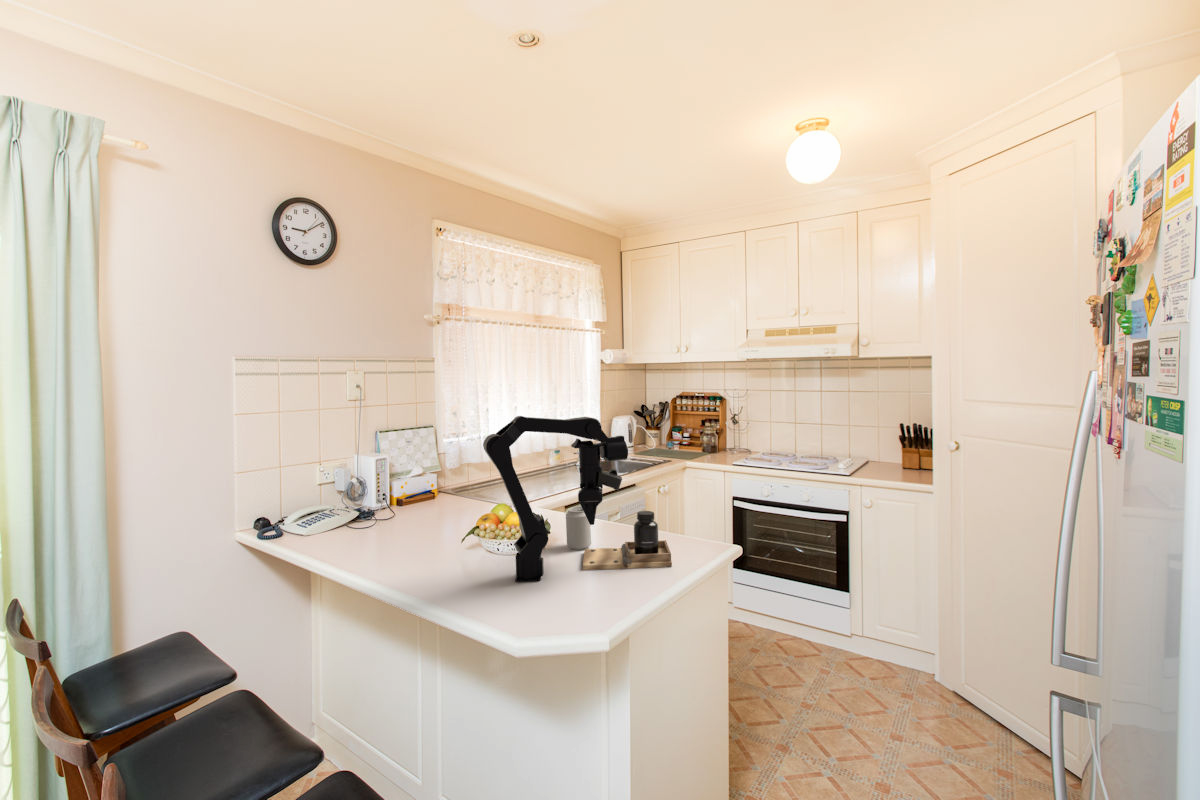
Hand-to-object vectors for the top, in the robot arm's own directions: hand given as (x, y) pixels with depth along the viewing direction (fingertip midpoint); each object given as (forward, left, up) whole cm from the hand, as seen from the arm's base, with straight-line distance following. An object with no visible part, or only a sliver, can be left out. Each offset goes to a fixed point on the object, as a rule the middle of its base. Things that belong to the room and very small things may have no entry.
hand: (592, 520), depth 145 cm
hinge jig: (+9, +5, -13) cm, 17 cm away
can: (-5, +18, -13) cm, 23 cm away
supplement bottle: (+15, +5, -12) cm, 20 cm away
